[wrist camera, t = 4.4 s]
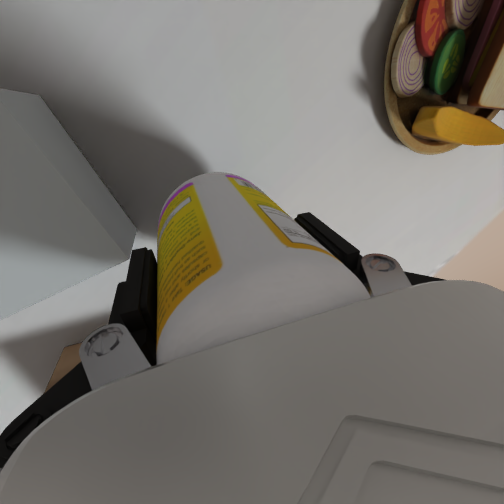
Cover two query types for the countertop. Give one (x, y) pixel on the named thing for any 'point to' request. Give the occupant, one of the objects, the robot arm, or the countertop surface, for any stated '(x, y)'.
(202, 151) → the countertop surface
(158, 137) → the countertop surface
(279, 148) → the countertop surface
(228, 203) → the supplement bottle
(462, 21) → the toy sandwich meal
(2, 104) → the slate block
